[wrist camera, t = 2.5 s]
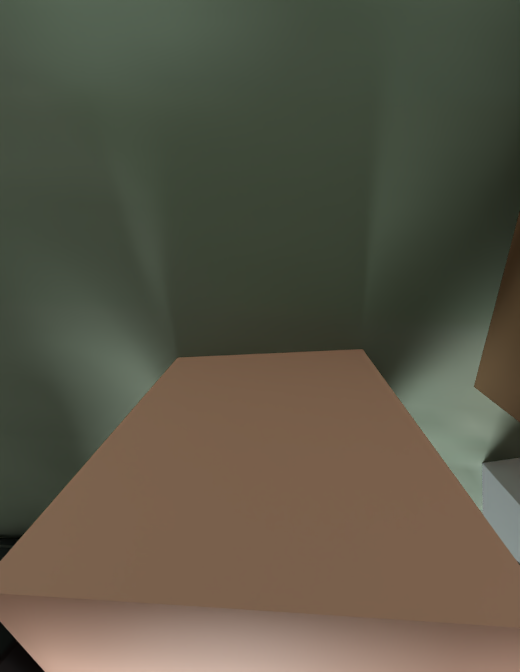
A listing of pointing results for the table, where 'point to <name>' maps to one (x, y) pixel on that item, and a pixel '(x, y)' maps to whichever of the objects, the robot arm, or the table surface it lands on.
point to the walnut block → (504, 339)
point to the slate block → (503, 501)
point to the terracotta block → (265, 535)
